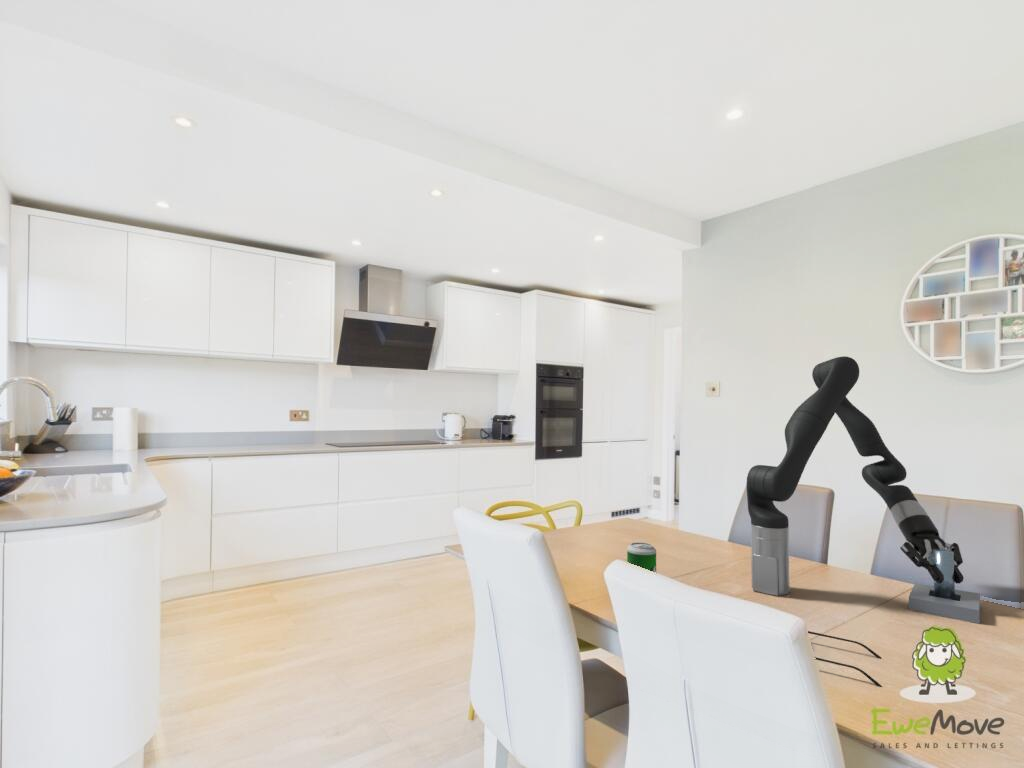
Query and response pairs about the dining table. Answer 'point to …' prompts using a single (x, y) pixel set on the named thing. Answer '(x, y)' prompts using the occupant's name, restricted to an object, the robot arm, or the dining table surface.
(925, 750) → the dining table surface
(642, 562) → the soda can
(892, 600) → the dining table surface
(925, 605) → the socket stand
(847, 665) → the glasses
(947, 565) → the steel pin
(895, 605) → the dining table surface
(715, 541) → the dining table surface
